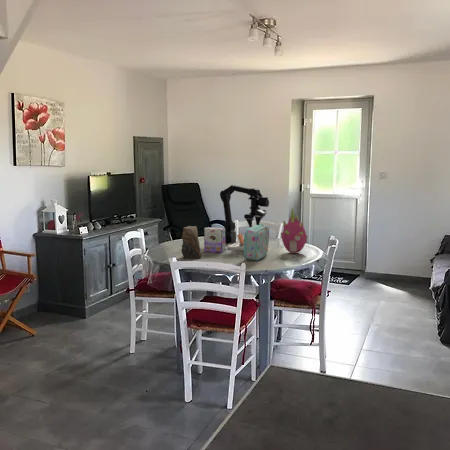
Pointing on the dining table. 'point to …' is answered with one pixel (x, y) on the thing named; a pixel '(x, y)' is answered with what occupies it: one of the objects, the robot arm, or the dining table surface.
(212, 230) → the candy box
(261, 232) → the lunch box
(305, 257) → the dining table surface
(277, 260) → the dining table surface
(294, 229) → the pink dragon fruit
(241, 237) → the block
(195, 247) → the owl
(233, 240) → the far post
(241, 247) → the panel
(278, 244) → the dining table surface
